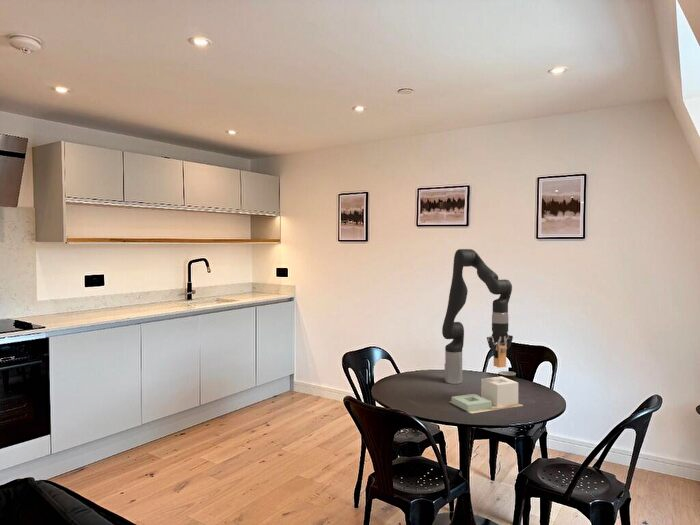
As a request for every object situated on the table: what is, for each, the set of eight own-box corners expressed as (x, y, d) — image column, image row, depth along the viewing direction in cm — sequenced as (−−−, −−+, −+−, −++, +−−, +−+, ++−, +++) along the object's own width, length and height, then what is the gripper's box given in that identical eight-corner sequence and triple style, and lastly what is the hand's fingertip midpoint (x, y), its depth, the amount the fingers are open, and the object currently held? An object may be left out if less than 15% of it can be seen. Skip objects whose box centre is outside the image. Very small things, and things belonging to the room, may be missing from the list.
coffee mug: (515, 390, 249) (515, 371, 249) (516, 395, 241) (516, 375, 241) (491, 389, 253) (491, 370, 252) (492, 393, 244) (492, 374, 244)
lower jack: (451, 403, 227) (451, 396, 226) (474, 399, 231) (474, 393, 231) (467, 411, 214) (467, 405, 214) (491, 408, 219) (491, 401, 219)
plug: (493, 365, 229) (493, 344, 229) (500, 364, 231) (500, 344, 231) (500, 368, 225) (500, 346, 225) (507, 367, 226) (507, 346, 226)
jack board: (448, 403, 229) (448, 401, 229) (498, 396, 240) (498, 394, 239) (471, 415, 212) (471, 413, 212) (523, 407, 223) (523, 405, 223)
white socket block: (481, 399, 232) (481, 378, 232) (501, 396, 237) (501, 376, 236) (497, 406, 221) (497, 385, 221) (518, 403, 225) (518, 382, 225)
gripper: (506, 319, 234) (506, 354, 234) (482, 321, 228) (482, 357, 229) (517, 321, 227) (517, 358, 227) (492, 323, 221) (492, 360, 222)
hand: (499, 357), depth 228 cm, fingers closed on plug, 4 cm apart
